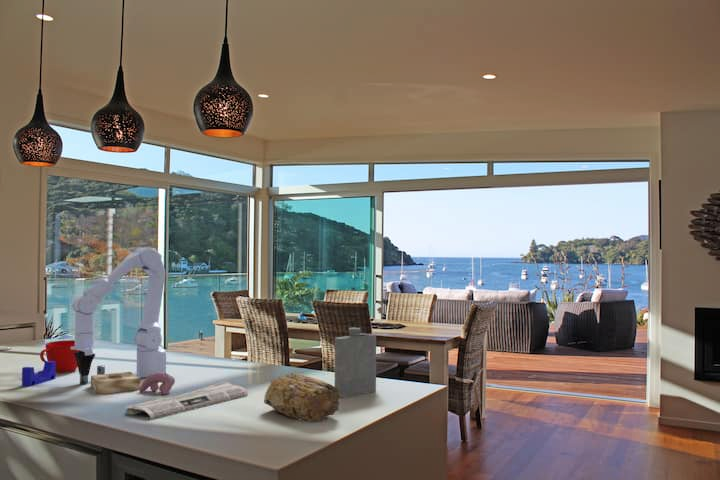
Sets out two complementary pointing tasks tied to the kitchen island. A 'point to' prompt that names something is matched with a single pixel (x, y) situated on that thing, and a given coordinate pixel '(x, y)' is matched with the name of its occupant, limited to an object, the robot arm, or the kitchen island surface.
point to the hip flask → (355, 363)
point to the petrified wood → (302, 397)
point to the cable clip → (38, 374)
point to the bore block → (115, 382)
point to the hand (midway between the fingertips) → (83, 374)
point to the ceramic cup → (61, 355)
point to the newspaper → (189, 400)
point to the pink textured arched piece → (158, 377)
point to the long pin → (83, 379)
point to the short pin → (100, 370)
